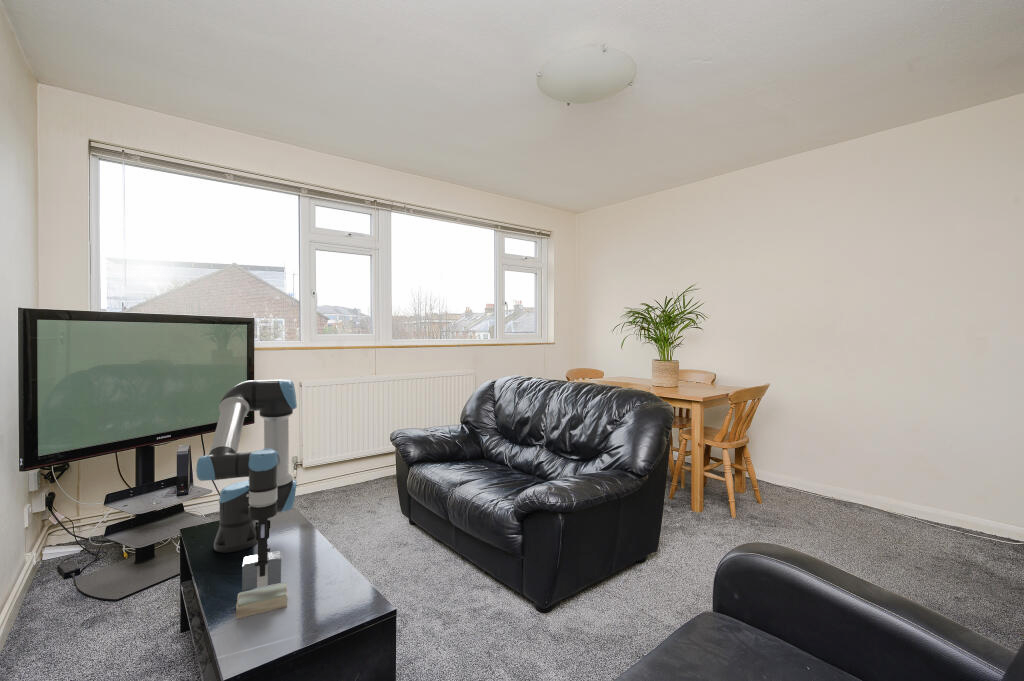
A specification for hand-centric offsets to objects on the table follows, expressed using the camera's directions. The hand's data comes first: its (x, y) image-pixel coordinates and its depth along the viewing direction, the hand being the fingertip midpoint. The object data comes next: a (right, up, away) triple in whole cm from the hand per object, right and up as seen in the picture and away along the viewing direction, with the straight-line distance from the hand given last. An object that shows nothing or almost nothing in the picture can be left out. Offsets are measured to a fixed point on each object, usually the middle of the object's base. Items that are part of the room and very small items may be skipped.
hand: (262, 580), depth 136 cm
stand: (0, -8, 0) cm, 8 cm away
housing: (0, 0, 0) cm, 1 cm away
